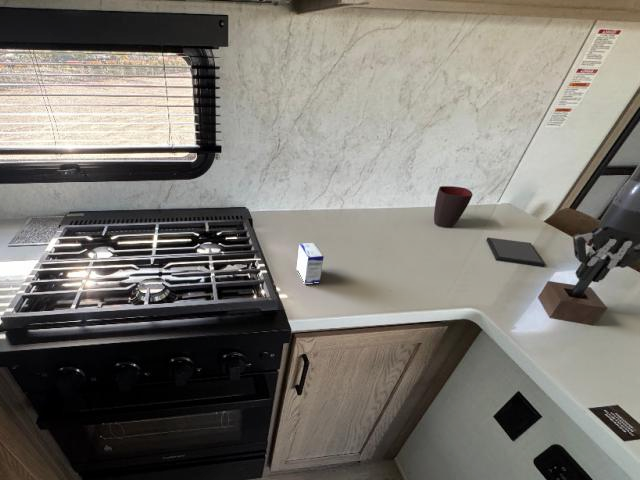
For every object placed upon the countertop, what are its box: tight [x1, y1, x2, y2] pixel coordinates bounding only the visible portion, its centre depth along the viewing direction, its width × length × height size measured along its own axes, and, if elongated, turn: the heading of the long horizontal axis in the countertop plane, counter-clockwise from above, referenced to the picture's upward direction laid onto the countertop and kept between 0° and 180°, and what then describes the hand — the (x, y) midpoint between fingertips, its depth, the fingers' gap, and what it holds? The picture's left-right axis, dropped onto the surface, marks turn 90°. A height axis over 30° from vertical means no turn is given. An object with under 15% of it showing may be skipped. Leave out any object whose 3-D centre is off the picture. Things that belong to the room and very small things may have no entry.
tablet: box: [486, 237, 546, 268], centre depth 105 cm, size 12×14×1 cm
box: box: [296, 242, 325, 286], centre depth 93 cm, size 8×4×9 cm, turn 9°
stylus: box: [569, 258, 606, 298], centre depth 78 cm, size 2×2×14 cm
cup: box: [433, 185, 474, 229], centre depth 121 cm, size 10×14×12 cm
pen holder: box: [537, 280, 608, 326], centre depth 81 cm, size 9×9×5 cm
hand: (586, 279), depth 77 cm, fingers closed on stylus, 2 cm apart
